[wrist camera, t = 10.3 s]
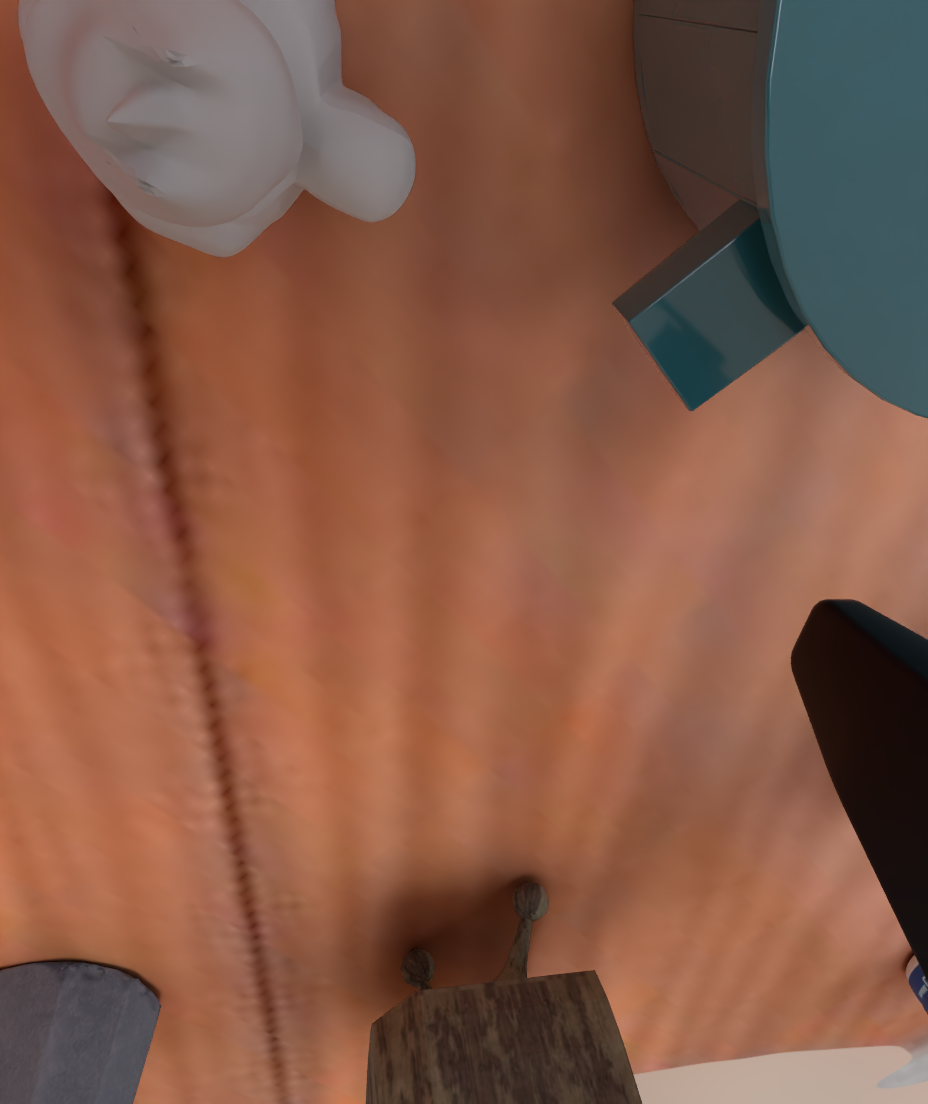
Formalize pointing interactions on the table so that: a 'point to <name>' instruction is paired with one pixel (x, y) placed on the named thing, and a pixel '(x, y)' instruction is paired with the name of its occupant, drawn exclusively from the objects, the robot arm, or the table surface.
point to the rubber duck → (214, 112)
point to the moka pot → (73, 1033)
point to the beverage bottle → (917, 981)
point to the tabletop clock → (501, 1035)
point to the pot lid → (848, 181)
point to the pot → (704, 200)
